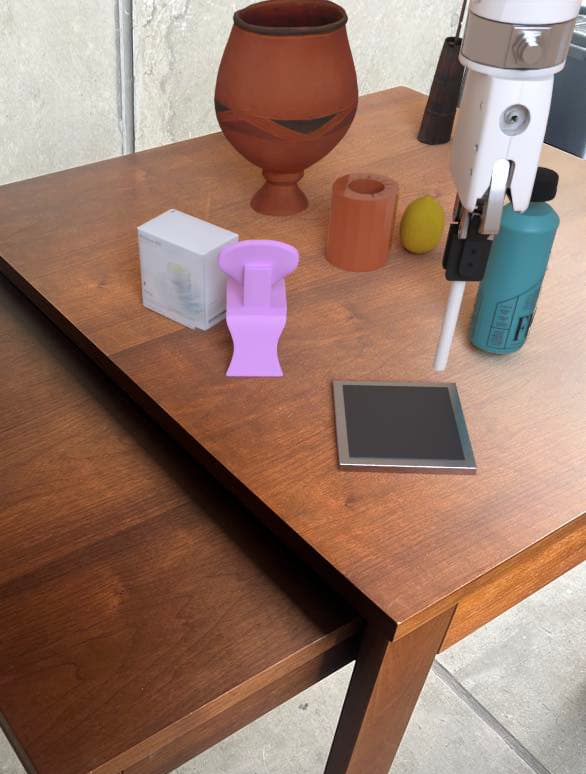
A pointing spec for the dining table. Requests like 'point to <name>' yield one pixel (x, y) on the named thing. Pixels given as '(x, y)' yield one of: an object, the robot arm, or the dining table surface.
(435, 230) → the lemon
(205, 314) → the cosmetics box
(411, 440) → the tablet
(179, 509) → the dining table surface
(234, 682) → the dining table surface
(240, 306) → the toy chair
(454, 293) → the stylus
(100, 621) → the dining table surface
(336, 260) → the pen cup
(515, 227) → the beverage bottle
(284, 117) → the goblet
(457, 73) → the butter churn
